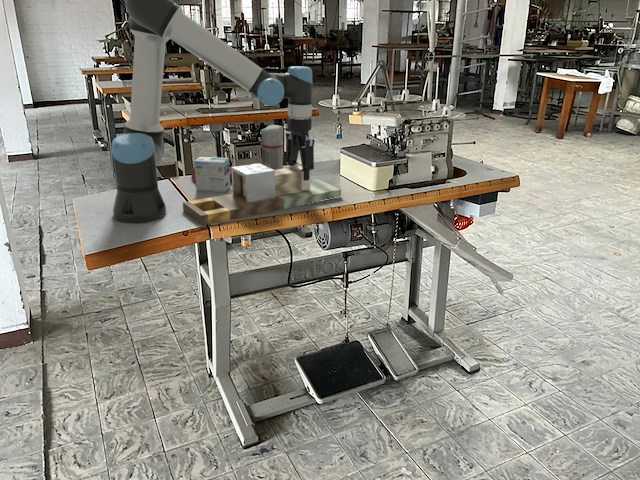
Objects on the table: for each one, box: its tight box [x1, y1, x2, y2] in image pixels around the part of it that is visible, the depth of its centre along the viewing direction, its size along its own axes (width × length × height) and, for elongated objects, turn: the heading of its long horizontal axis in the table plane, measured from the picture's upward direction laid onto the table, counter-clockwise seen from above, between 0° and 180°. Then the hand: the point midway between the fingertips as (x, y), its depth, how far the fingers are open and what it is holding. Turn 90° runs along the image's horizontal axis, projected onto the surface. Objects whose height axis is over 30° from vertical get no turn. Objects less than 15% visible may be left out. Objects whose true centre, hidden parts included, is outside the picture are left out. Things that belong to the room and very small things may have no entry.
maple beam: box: [243, 165, 312, 197], centre depth 170 cm, size 22×6×7 cm, turn 125°
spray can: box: [261, 124, 284, 170], centre depth 194 cm, size 8×8×20 cm
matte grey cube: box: [231, 163, 275, 205], centre depth 165 cm, size 10×10×10 cm
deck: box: [182, 178, 342, 226], centre depth 169 cm, size 51×14×3 cm, turn 126°
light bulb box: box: [194, 156, 231, 193], centre depth 182 cm, size 11×7×11 cm, turn 84°
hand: (299, 186), depth 175 cm, fingers closed on maple beam, 6 cm apart
